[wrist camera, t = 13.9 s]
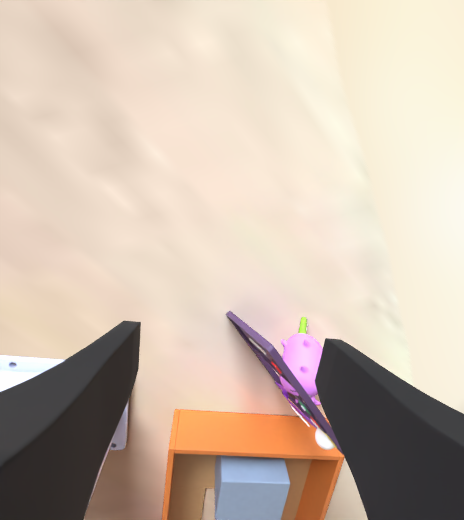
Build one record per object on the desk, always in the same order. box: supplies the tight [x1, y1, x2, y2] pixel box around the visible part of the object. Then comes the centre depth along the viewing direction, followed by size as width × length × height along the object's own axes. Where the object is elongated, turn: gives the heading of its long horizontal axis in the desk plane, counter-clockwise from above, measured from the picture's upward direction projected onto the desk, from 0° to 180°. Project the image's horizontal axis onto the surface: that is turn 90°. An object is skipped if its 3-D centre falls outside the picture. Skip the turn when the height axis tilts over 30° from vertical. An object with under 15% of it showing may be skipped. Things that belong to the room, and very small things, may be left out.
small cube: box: [215, 455, 290, 520], centre depth 23 cm, size 5×4×4 cm
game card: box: [226, 311, 343, 454], centre depth 19 cm, size 7×5×9 cm
